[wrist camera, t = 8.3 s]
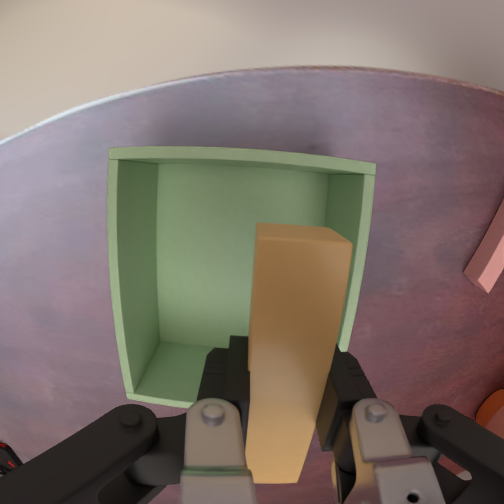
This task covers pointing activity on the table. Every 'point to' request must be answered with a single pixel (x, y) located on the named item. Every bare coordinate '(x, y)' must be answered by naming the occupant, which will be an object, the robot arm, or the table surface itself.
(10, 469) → the handheld gaming console
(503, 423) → the cup with straw
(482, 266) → the pink stick
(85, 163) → the table surface
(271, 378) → the mustard wooden beam
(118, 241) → the bin
